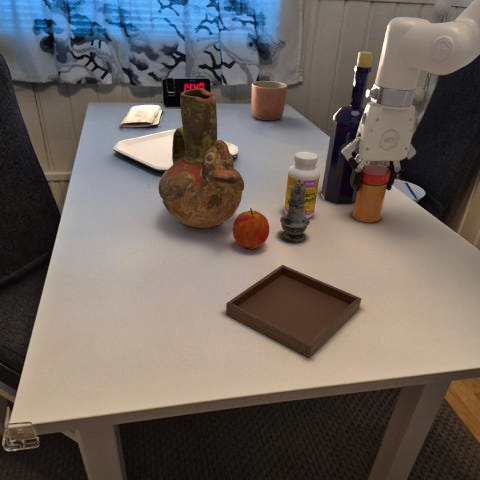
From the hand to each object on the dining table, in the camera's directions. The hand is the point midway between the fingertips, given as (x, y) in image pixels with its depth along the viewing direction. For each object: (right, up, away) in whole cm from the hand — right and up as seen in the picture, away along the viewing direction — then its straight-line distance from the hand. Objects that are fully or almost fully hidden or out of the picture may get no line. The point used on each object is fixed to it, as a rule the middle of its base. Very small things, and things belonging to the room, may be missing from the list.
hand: (370, 187), depth 95 cm
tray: (-19, -27, -24) cm, 41 cm away
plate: (-46, +19, +32) cm, 59 cm away
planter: (-18, +45, +67) cm, 83 cm away
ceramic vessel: (-35, -8, -2) cm, 36 cm away
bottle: (-4, +1, +12) cm, 13 cm away
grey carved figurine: (-17, -11, -5) cm, 21 cm away
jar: (0, -5, +4) cm, 6 cm away
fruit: (-26, -14, -8) cm, 31 cm away
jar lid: (0, +3, -2) cm, 4 cm away
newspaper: (-61, +42, +60) cm, 96 cm away
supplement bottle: (-15, -5, +4) cm, 16 cm away
